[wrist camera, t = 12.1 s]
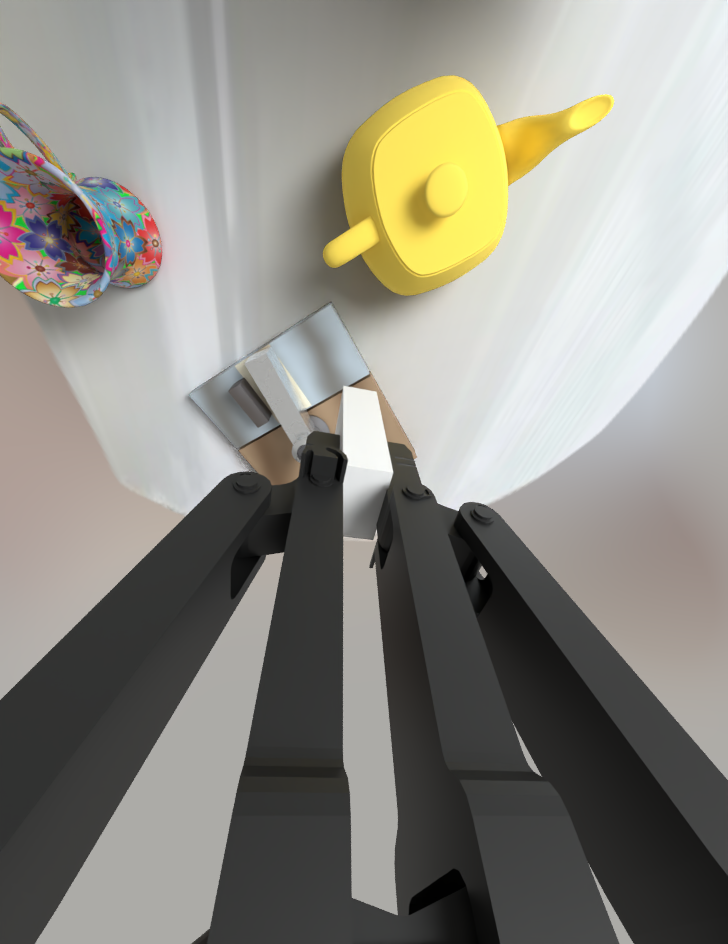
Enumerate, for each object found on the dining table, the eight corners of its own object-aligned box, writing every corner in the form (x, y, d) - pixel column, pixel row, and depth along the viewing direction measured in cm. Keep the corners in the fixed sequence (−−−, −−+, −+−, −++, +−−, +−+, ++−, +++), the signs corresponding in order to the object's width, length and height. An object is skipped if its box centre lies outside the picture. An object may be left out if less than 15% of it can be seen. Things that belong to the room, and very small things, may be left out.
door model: (331, 301, 38) (329, 308, 34) (414, 450, 48) (420, 467, 44) (194, 388, 42) (180, 403, 38) (298, 507, 53) (294, 527, 49)
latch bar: (326, 441, 44) (325, 460, 40) (303, 450, 44) (299, 470, 41) (274, 344, 37) (266, 356, 34) (248, 356, 38) (237, 369, 34)
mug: (186, 282, 36) (134, 296, 27) (99, 298, 36) (20, 317, 28) (124, 120, 29) (30, 70, 21) (19, 142, 30) (-119, 102, 21)
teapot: (541, 225, 35) (625, 219, 24) (357, 319, 39) (362, 349, 28) (513, 36, 28) (613, -83, 18) (292, 174, 32) (267, 144, 22)
